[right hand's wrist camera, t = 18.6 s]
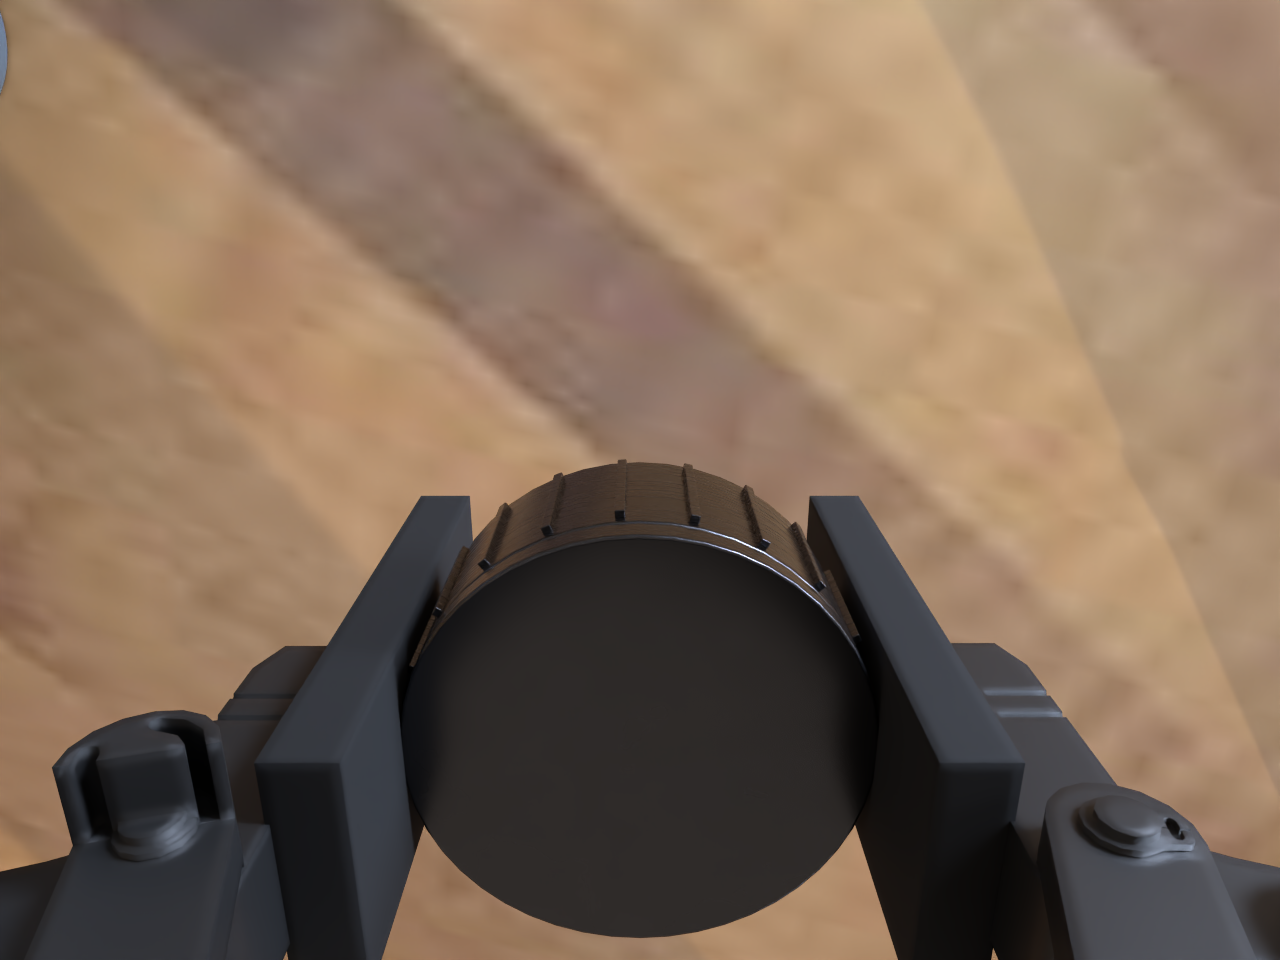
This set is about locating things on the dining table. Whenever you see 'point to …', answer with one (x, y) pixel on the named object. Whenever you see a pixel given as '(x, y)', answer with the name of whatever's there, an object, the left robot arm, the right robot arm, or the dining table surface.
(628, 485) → the lid
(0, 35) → the grey cylinder
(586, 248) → the dining table surface
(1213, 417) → the dining table surface
